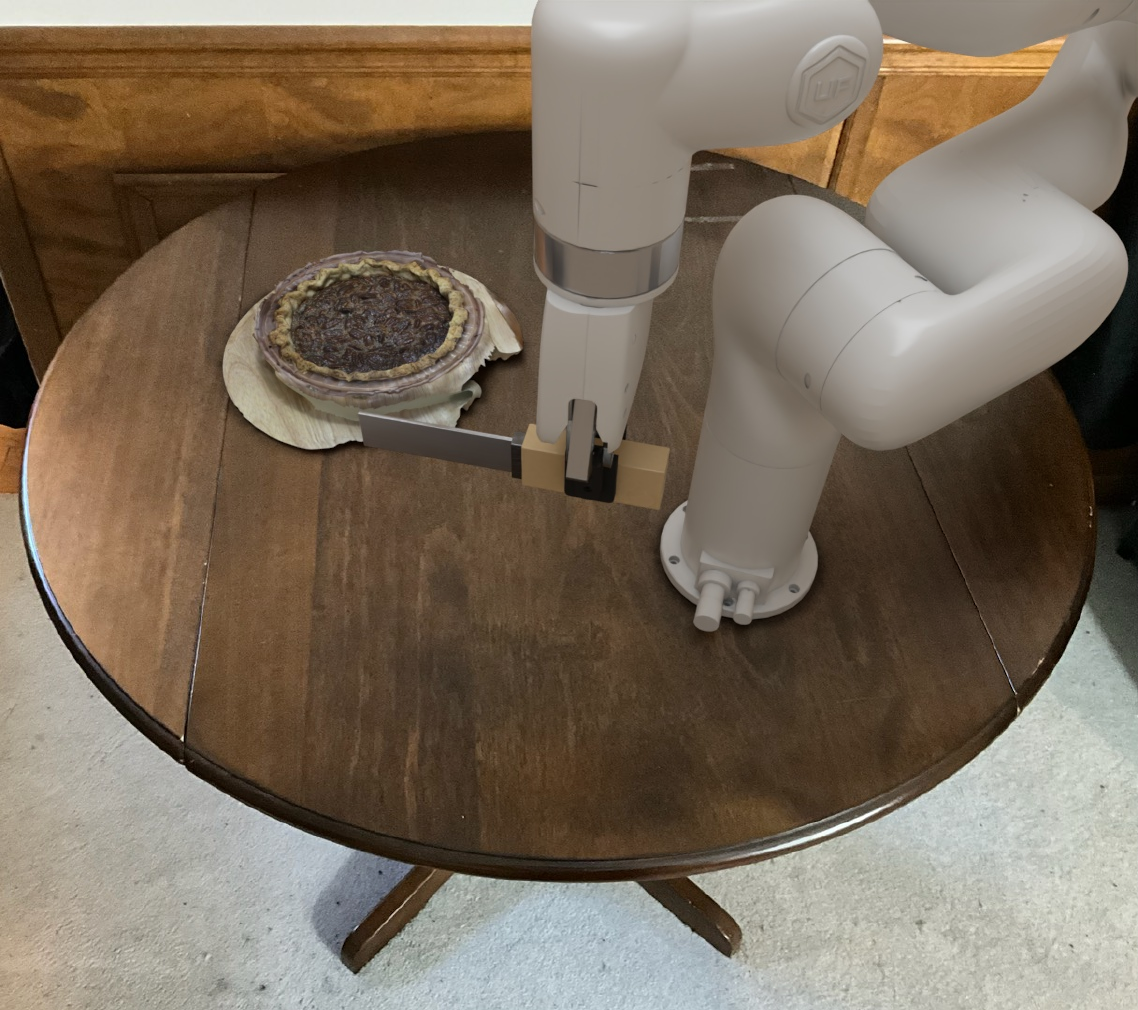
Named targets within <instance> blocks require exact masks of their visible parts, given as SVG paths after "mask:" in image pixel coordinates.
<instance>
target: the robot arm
mask: <svg viewBox="0 0 1138 1010" xmlns="http://www.w3.org/2000/svg"><path fill="white" fill-rule="evenodd" d="M530 28H531V29H530V30H531V31H530V32H531V33H530V82H531V83H530V85H531V87H530V88H531V159H532V160H531V165H532V168H531V169H532V171H531V172H532V175H531V176H532V246H533V247H532V258H533V259H532V260H533V261H532V262H533V268H534V272H535V274H536V276H537V277H538V279H539V281H540V282H541V283H542V284H543V285H544V286H545V287H546V294H545V300H544V308H543V316H542V323H541V334H540V345H539V358H538V359H539V360H538V363H539V364H538V375H537V377H538V378H537V381H538V382H537V401H536V419H535V422H536V423H535V424H536V434H537V436H538V438H539V440H540V441H541V442H544V443H545V442H546V443H550V444H555V443H556V441H557V440H558V439H559V437H560V436H561V434H562V433H563V431H564V429H565V430H566V450H565V475H564V492H565V493H564V494H565V495H566V496H568V497H572V498H578V499H582V500H588V501H593V502H594V501H595V502H600V503H605V504H612V503H614V502H613V501H614V498H615V494H616V483H617V470H618V457H619V455H616V454H614V451H615V450H616V449H617V448H619V446H620V444H621V441H622V440H627V433H628V432H627V430H628V421H629V417H630V414H631V410H632V407H633V403H634V400H635V396H636V393H637V389H638V386H639V382H640V378H641V373H642V369H643V365H644V361H645V357H646V351H647V346H648V341H649V335H650V329H651V324H652V323H651V322H652V315H653V306H654V299H655V298H657V297H658V296H660V295H662V294H664V292H665V291H667V289H668V288H670V287H671V286H672V284H673V283H674V282H675V280H676V278H677V277H678V274H679V268H680V261H681V252H682V243H683V234H684V226H685V219H686V211H687V203H688V194H689V187H690V177H691V169H692V160H693V155H695V154H696V153H697V152H700V151H710V150H727V149H745V148H762V147H774V146H783V145H789V144H795V143H799V142H803V141H807V140H810V139H813V138H815V137H817V136H819V135H821V134H824V133H826V132H828V131H830V130H831V129H833V128H835V127H836V126H838V125H839V124H840V125H841V123H842V122H844V121H845V120H846V119H847V118H849V117H850V116H851V115H852V114H853V113H854V112H855V111H856V110H857V109H859V107H860V105H862V103H863V102H864V101H865V100H866V98H867V97H868V96H869V94H870V92H871V91H872V89H873V88H874V85H875V83H876V81H877V78H878V76H879V73H880V70H881V67H882V63H883V57H884V36H883V35H885V36H887V37H890V38H892V39H895V40H898V41H901V42H904V43H908V44H911V45H914V46H918V47H922V48H926V49H929V50H930V49H931V50H935V51H939V52H945V53H948V54H949V53H950V54H955V55H959V56H965V57H967V56H968V57H973V58H996V57H999V56H1000V57H1001V56H1004V55H1009V54H1012V53H1016V52H1018V51H1021V50H1024V49H1027V48H1030V47H1034V46H1036V45H1040V44H1043V43H1045V42H1048V41H1051V40H1054V39H1057V38H1061V37H1064V36H1067V37H1066V38H1065V39H1064V41H1063V44H1062V45H1061V47H1060V49H1059V50H1058V52H1057V54H1056V56H1055V58H1054V60H1053V61H1052V63H1051V65H1050V67H1049V68H1048V70H1047V72H1046V74H1045V75H1044V77H1043V78H1042V80H1041V82H1040V84H1038V85H1037V87H1036V88H1035V89H1034V91H1033V93H1031V94H1030V95H1029V96H1027V97H1026V98H1025V99H1024V100H1023V101H1021V102H1019V103H1018V104H1016V105H1014V106H1012V107H1010V108H1009V109H1007V110H1005V111H1003V112H1002V113H1000V114H998V115H996V116H993V117H991V118H989V119H987V120H985V121H983V122H981V123H979V124H977V125H975V126H973V127H971V128H969V129H967V130H965V131H963V132H961V133H959V134H957V135H955V136H953V137H950V139H947V140H945V141H943V142H941V143H939V144H937V145H935V146H933V147H931V148H929V149H928V150H925V151H923V152H922V153H920V154H918V155H916V156H914V157H913V158H911V159H909V160H908V161H906V162H904V163H903V164H901V165H900V166H898V167H897V168H895V169H894V170H893V171H892V172H890V173H889V174H888V175H887V176H885V178H884V179H882V180H881V181H880V183H879V184H878V185H877V186H876V188H875V189H874V191H873V192H872V194H871V195H870V197H869V199H868V202H867V204H866V209H865V214H864V225H863V224H861V222H859V221H858V220H856V219H855V218H854V217H853V216H851V215H850V214H848V213H847V212H845V211H844V210H842V209H840V208H839V207H837V206H835V205H833V204H831V203H830V202H828V201H825V200H822V199H821V198H818V197H814V196H810V195H802V194H786V195H780V196H776V197H773V198H770V199H767V200H764V201H763V202H761V203H759V204H757V205H756V206H754V207H753V208H751V209H750V210H749V211H748V212H747V213H745V214H744V215H743V216H742V217H741V219H739V220H738V221H737V222H736V224H735V225H734V226H733V228H732V229H731V230H730V231H729V234H728V235H727V237H726V239H725V240H724V242H723V244H722V247H721V249H720V251H719V254H718V256H717V260H716V262H715V263H716V264H715V268H714V273H713V279H712V291H711V310H712V311H711V312H712V332H713V356H712V358H713V359H712V367H711V375H710V382H709V385H708V386H709V387H708V392H707V398H706V404H705V408H704V412H703V419H702V422H701V423H702V424H701V429H700V433H699V439H698V444H697V449H696V455H695V460H694V467H693V470H692V475H691V476H692V477H691V480H690V487H689V492H688V497H687V500H685V501H684V502H683V503H680V505H678V506H677V507H676V508H675V509H674V511H673V512H671V514H670V515H669V516H668V518H667V520H666V522H665V523H664V525H663V529H662V533H661V536H660V542H659V543H660V544H659V551H660V552H659V554H660V562H661V566H662V568H663V571H664V573H665V574H666V576H667V578H668V580H669V581H670V583H671V585H672V586H673V587H674V588H675V589H676V590H677V591H678V592H679V593H680V594H681V595H682V596H683V597H685V599H687V600H688V601H690V602H691V603H692V604H694V605H696V608H695V613H694V617H693V621H692V623H693V625H694V627H696V628H697V629H699V630H701V631H704V632H711V633H712V632H715V631H717V630H718V629H719V628H720V624H721V619H722V617H726V618H731V619H733V621H734V623H736V624H738V625H742V626H743V625H744V626H746V625H750V624H751V623H752V621H753V620H758V619H767V618H770V617H774V616H777V615H781V614H782V613H784V612H786V611H789V610H790V609H792V608H794V607H795V606H796V605H797V604H798V603H800V602H801V601H802V600H803V599H804V598H805V596H806V595H807V594H808V593H809V591H810V589H811V587H812V585H813V583H814V580H815V577H816V575H817V571H818V567H819V566H818V565H819V564H818V562H819V554H818V549H817V545H816V541H815V540H814V538H813V535H812V533H811V532H810V528H811V526H812V523H813V519H814V517H815V514H816V511H817V507H818V505H819V501H820V500H821V496H822V493H823V490H824V487H825V484H826V481H827V478H828V475H829V472H830V469H831V466H832V463H833V460H834V457H835V455H836V451H837V448H838V445H839V443H840V442H841V438H842V436H843V437H845V438H846V439H848V441H850V442H852V443H853V444H855V445H857V446H858V447H860V448H863V449H867V450H871V451H877V452H878V451H880V452H883V451H892V450H897V449H901V448H903V447H906V446H909V445H911V444H914V443H916V442H918V441H920V440H923V439H924V438H927V437H928V436H930V435H932V434H933V433H935V432H937V431H939V430H941V429H943V428H945V427H947V426H948V425H950V424H952V423H953V422H956V421H958V420H959V419H961V418H963V417H964V416H966V415H968V414H970V413H971V412H973V411H975V410H976V409H979V408H980V407H982V406H984V405H986V404H988V403H989V402H991V401H993V400H995V399H996V398H999V397H1000V396H1002V395H1003V394H1005V393H1007V392H1009V391H1011V390H1012V389H1014V388H1016V387H1018V386H1020V385H1021V384H1023V383H1025V382H1026V381H1028V380H1030V379H1032V378H1033V377H1035V376H1037V375H1039V374H1041V373H1042V372H1044V371H1045V370H1047V369H1049V368H1050V367H1052V366H1053V365H1055V364H1057V363H1058V362H1060V361H1061V360H1063V359H1064V358H1065V357H1067V356H1068V355H1069V354H1071V353H1073V352H1074V351H1075V350H1076V349H1077V348H1079V347H1080V346H1081V345H1083V343H1084V342H1086V340H1087V339H1088V338H1089V337H1090V336H1091V335H1092V334H1094V333H1095V332H1096V331H1097V330H1098V328H1099V327H1100V326H1101V325H1102V323H1104V321H1105V320H1106V318H1107V317H1109V315H1110V314H1111V312H1112V311H1113V309H1114V308H1115V307H1116V305H1117V304H1118V301H1119V300H1120V298H1121V296H1122V293H1123V291H1124V290H1125V287H1126V282H1127V278H1128V274H1129V273H1128V272H1129V261H1128V260H1129V258H1128V254H1127V250H1126V248H1125V245H1124V243H1123V241H1122V240H1121V238H1120V236H1119V235H1118V233H1117V232H1116V231H1115V230H1114V229H1113V228H1112V227H1111V226H1110V224H1108V223H1107V222H1105V220H1103V219H1102V218H1101V217H1100V216H1099V215H1097V214H1096V213H1095V212H1094V211H1095V210H1096V209H1098V208H1099V207H1101V206H1102V205H1104V204H1105V202H1107V201H1108V200H1109V199H1110V197H1111V196H1112V195H1113V193H1114V191H1115V190H1116V189H1117V186H1118V184H1119V182H1120V180H1121V177H1122V174H1123V171H1124V170H1123V169H1124V166H1125V162H1126V157H1127V151H1128V140H1129V139H1128V138H1129V124H1128V115H1129V113H1130V110H1131V108H1132V105H1133V103H1134V102H1135V100H1136V99H1137V98H1138V0H537V2H536V4H535V7H534V9H533V12H532V18H531V27H530ZM595 438H600V439H601V440H602V442H603V446H600V445H594V439H595Z"/></svg>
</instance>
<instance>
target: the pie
mask: <svg viewBox="0 0 1138 1010" xmlns="http://www.w3.org/2000/svg"><path fill="white" fill-rule="evenodd" d="M273 286H274V287H273ZM273 286H272V287H271V288H272V289H273V288H274V289H273V290H272V291H271V292H269V293H268V294H267V295H265V296H264V297H262V298H261V299H260V300H259V301H257V302H256V303H255V304H254V305H253V306H252V307H251V308H249V310H248V311H247V312H246V314H245V315H244V316H243V317H242V318H241V319H240V320H239V322H238V323H237V325H236V326H235V328H234V329H233V331H232V332H231V334H230V336H229V338H228V340H227V343H226V345H225V348H224V352H223V359H222V376H223V382H224V385H225V389H226V391H227V393H228V395H229V397H230V400H231V402H232V403H233V405H234V406H235V407H237V408H238V410H239V412H240V413H242V414H243V418H245V419H246V420H247V421H248V422H250V424H252V426H254V427H255V428H257V429H259V430H260V431H261V432H263V433H265V434H266V435H268V436H270V437H271V438H273V439H275V440H277V441H280V442H283V443H285V444H288V445H291V446H294V447H297V448H301V449H305V450H320V449H321V450H322V449H330V448H332V449H333V448H334V447H336V446H337V445H339V444H345V443H347V442H350V441H352V442H353V441H357V442H361V443H362V442H363V437H362V432H361V427H360V421H359V416H358V413H359V411H364V412H370V413H375V414H381V415H387V416H392V417H398V418H404V419H409V420H415V421H421V422H426V423H432V424H438V425H443V426H449V427H455V428H456V425H457V424H458V422H457V421H458V420H459V418H460V416H461V409H464V410H465V411H466V412H467V411H468V410H469V408H470V406H472V404H473V402H474V401H475V399H480V398H481V396H482V388H481V386H480V385H479V384H478V382H476V381H475V380H472V379H471V378H472V377H473V375H475V373H477V372H479V368H480V367H481V365H482V366H483V367H486V363H485V359H486V360H487V361H488V362H491V361H497V360H498V359H499V358H501V359H502V360H503V361H506V360H508V359H509V358H510V357H511V356H514V355H518V354H520V353H521V351H522V350H523V349H524V339H523V333H522V328H521V325H520V322H519V321H518V319H517V317H516V315H515V313H514V312H513V311H512V310H511V308H510V307H509V306H508V305H507V304H506V302H504V301H503V300H502V299H501V298H500V297H499V296H498V295H496V294H495V293H493V292H492V291H491V290H490V289H489V288H488V287H487V286H485V285H484V284H483V283H482V282H480V281H478V280H477V279H476V278H473V277H472V276H470V275H468V274H466V273H465V272H464V273H463V272H462V271H459V270H455V269H453V268H452V267H450V266H449V265H447V266H443V265H440V264H438V260H437V259H436V260H435V259H433V257H431V256H429V255H423V252H422V251H420V252H415V251H413V252H412V251H408V250H402V251H401V250H398V249H393V250H388V251H383V250H378V251H377V250H375V251H370V252H366V251H363V250H357V251H353V252H346V253H336V254H333V255H330V256H327V257H326V258H319V262H318V263H317V262H316V261H313V262H310V261H307V263H306V265H304V267H301V268H297V269H296V270H293V271H292V272H291V273H289V274H287V276H286V278H285V279H284V278H283V280H279V281H278V283H277V284H276V283H274V284H273Z"/></svg>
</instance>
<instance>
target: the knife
mask: <svg viewBox="0 0 1138 1010" xmlns="http://www.w3.org/2000/svg"><path fill="white" fill-rule="evenodd" d="M358 416H359V421H360V427H361V432H362V437H363V441H362V442H363V446H364V447H368V448H369V447H370V448H375V449H381V450H385V451H386V450H387V451H390V452H391V451H392V452H395V453H402V454H407V455H414V456H417V457H424V458H428V459H429V458H430V459H436V460H441V461H446V462H453V463H456V464H457V463H458V464H464V465H467V466H469V465H470V466H474V467H481V468H484V469H491V470H497V471H501V472H508V473H511V478H512V479H518V480H521V485H522V486H524V487H530V488H536V489H540V490H546V491H552V492H556V493H557V492H558V493H561V494H565V492H564V475H565V450H566V428H565V429H564V431H563V433H562V434H561V436H560V437H559V439H558V440H557V441H556V443H555V444H550V443H546V442H545V443H544V442H541V441H540V440H539V438H538V436H537V434H536V423H529V424H528V426H527V429H526V432H524V431H517V430H515V431H514V433H513V436H512V437H510V436H506V435H505V436H504V435H501V434H494V433H487V432H483V431H476V430H471V429H465V428H461V427H456V426H455V427H449V426H443V425H438V424H432V423H426V422H421V421H415V420H409V419H404V418H398V417H392V416H387V415H381V414H375V413H370V412H364V411H359V413H358ZM594 445H600V446H603V442H602V440H601V439H600V438H595V439H594ZM670 452H671V448H670V447H669V446H662V445H655V444H651V443H645V442H639V441H633V440H627V439H626V440H622V441H621V444H620V446H619V448H617V449H616V450H615V451H614V454H616V455H619V457H618V470H617V483H616V494H615V498H614V501H613V502H612V503H618V504H623V505H628V506H632V507H639V508H643V509H650V510H655V511H660V510H661V505H662V501H663V496H664V493H665V492H664V491H665V487H666V481H667V473H668V466H669V461H670Z"/></svg>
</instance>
